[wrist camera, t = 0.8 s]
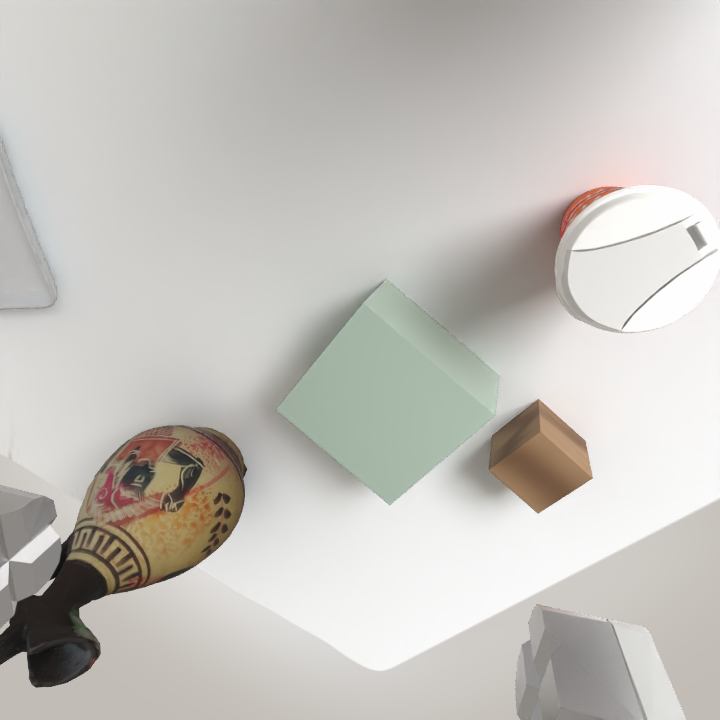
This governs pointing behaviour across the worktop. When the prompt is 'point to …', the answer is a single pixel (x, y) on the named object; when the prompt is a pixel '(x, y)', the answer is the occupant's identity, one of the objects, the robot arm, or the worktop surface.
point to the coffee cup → (635, 257)
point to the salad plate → (20, 250)
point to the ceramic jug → (130, 540)
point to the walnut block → (539, 457)
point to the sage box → (392, 394)
